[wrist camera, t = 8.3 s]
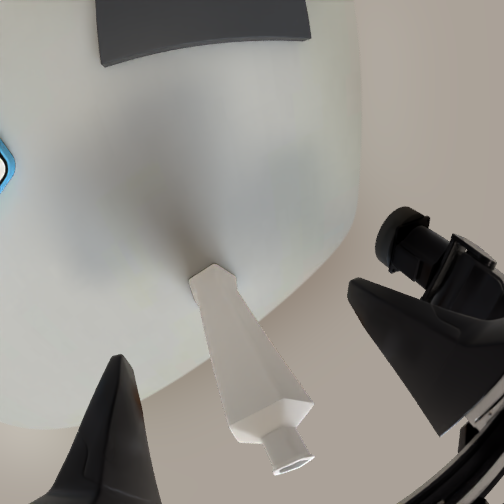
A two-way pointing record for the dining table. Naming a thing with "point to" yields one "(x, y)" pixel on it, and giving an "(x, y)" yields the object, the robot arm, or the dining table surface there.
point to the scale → (193, 24)
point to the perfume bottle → (251, 373)
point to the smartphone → (5, 166)
